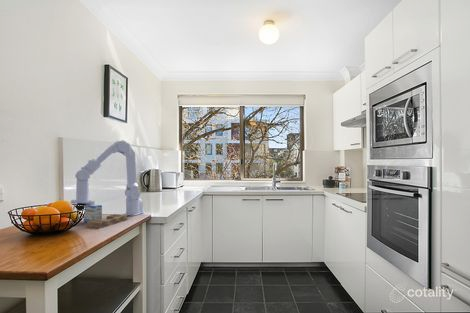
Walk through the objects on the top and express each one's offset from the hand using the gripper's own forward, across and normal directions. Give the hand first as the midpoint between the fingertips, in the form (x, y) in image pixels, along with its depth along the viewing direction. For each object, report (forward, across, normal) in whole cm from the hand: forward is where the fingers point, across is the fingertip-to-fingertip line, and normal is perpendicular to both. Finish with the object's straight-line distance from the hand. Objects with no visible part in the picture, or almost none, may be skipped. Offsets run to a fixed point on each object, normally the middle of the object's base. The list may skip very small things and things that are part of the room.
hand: (82, 217), depth 145 cm
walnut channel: (+1, +17, 0) cm, 17 cm away
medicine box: (+2, +7, 0) cm, 7 cm away
